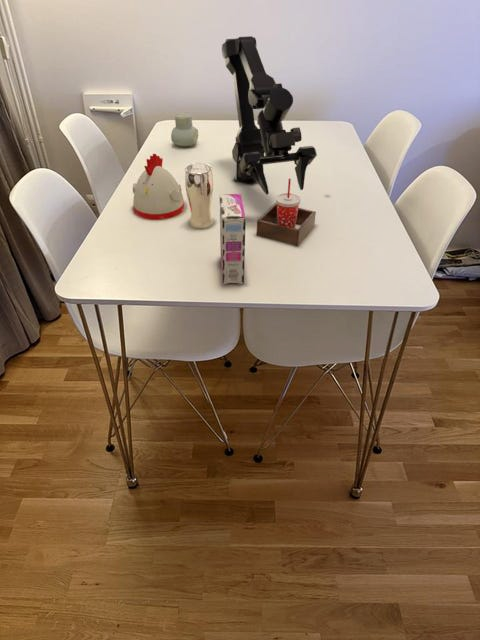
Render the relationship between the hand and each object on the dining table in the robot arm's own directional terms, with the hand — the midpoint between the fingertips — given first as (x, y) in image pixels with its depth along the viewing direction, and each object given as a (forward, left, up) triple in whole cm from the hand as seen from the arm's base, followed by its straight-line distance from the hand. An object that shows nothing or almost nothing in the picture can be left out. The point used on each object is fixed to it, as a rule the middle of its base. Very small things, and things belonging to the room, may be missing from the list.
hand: (284, 191), depth 115 cm
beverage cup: (+2, -2, -10) cm, 10 cm away
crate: (+2, -2, -10) cm, 10 cm away
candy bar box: (-2, -24, -10) cm, 26 cm away
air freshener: (-56, +40, -10) cm, 69 cm away
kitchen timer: (-35, -6, -10) cm, 37 cm away
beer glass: (-20, -8, -10) cm, 24 cm away
